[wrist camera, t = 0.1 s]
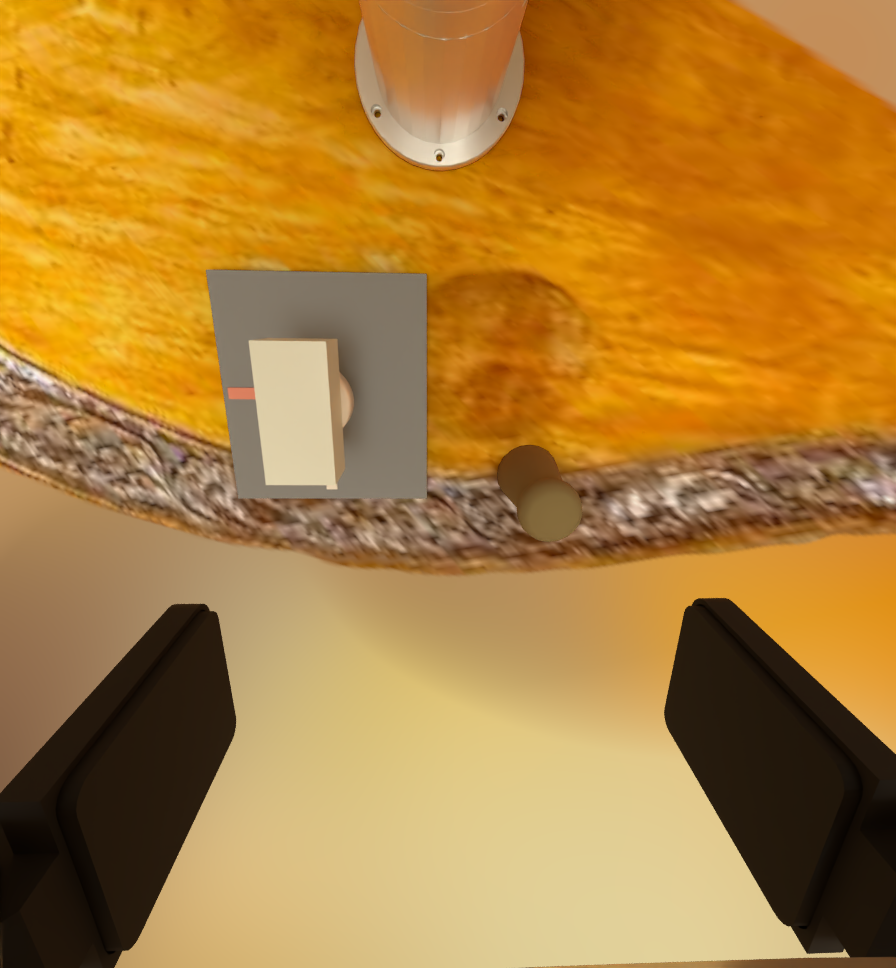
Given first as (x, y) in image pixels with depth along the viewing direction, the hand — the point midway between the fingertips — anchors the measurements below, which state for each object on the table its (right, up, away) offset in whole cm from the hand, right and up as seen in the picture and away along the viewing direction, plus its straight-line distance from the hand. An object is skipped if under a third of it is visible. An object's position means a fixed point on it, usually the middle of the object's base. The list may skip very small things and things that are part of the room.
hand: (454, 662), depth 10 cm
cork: (+8, +5, +38) cm, 39 cm away
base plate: (-11, +12, +34) cm, 38 cm away
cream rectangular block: (-11, +10, +30) cm, 33 cm away
